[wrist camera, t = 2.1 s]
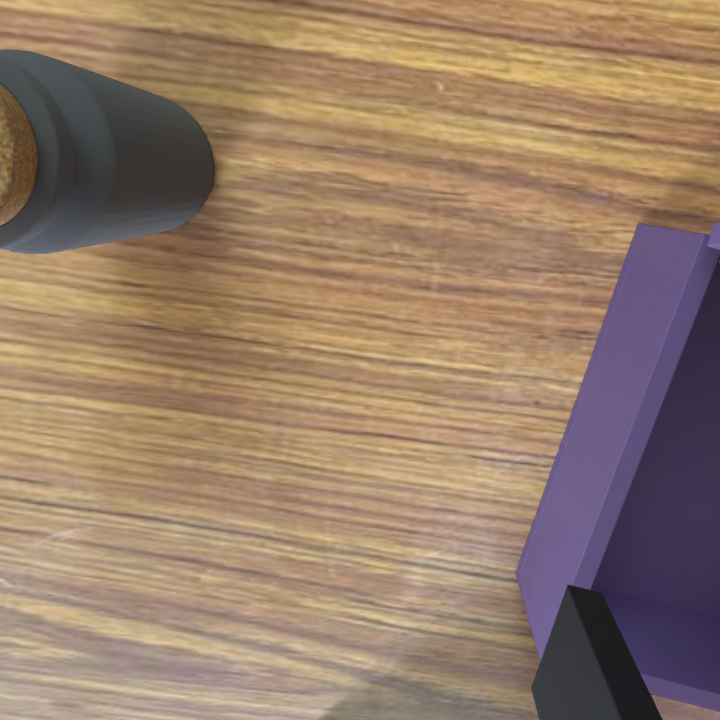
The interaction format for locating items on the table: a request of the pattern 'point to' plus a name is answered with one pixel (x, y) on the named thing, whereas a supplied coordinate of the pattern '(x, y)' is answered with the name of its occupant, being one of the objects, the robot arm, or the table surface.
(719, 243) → the lid
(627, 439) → the box
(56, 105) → the bottle
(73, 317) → the table surface
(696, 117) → the table surface
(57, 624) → the table surface
